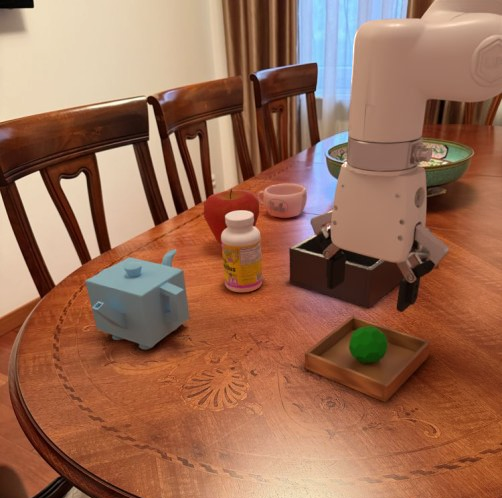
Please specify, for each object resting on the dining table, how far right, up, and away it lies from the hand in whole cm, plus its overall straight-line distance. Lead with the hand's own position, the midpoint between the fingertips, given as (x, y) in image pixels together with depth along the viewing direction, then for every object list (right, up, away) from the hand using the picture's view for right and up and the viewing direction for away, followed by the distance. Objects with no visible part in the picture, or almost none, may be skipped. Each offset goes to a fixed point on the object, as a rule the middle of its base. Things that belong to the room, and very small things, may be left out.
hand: (368, 295), depth 65 cm
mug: (-8, +23, +57) cm, 63 cm away
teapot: (-30, -4, +16) cm, 34 cm away
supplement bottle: (-16, +4, +27) cm, 32 cm away
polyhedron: (+1, -8, +5) cm, 10 cm away
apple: (-18, +13, +42) cm, 48 cm away
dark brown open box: (+2, +5, +27) cm, 27 cm away
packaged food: (+15, +10, +34) cm, 38 cm away
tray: (+1, -9, +5) cm, 10 cm away
